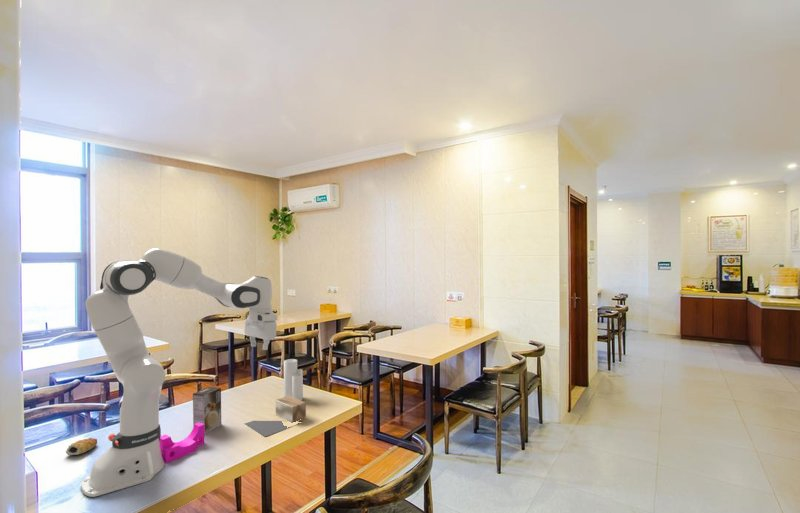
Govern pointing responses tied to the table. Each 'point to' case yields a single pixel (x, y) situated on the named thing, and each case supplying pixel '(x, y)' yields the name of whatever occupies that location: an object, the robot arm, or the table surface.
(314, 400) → the table surface
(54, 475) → the table surface
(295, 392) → the three-tube pen holder
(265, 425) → the mat
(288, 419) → the wooden brick
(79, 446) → the pastry
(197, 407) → the coffee box
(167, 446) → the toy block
